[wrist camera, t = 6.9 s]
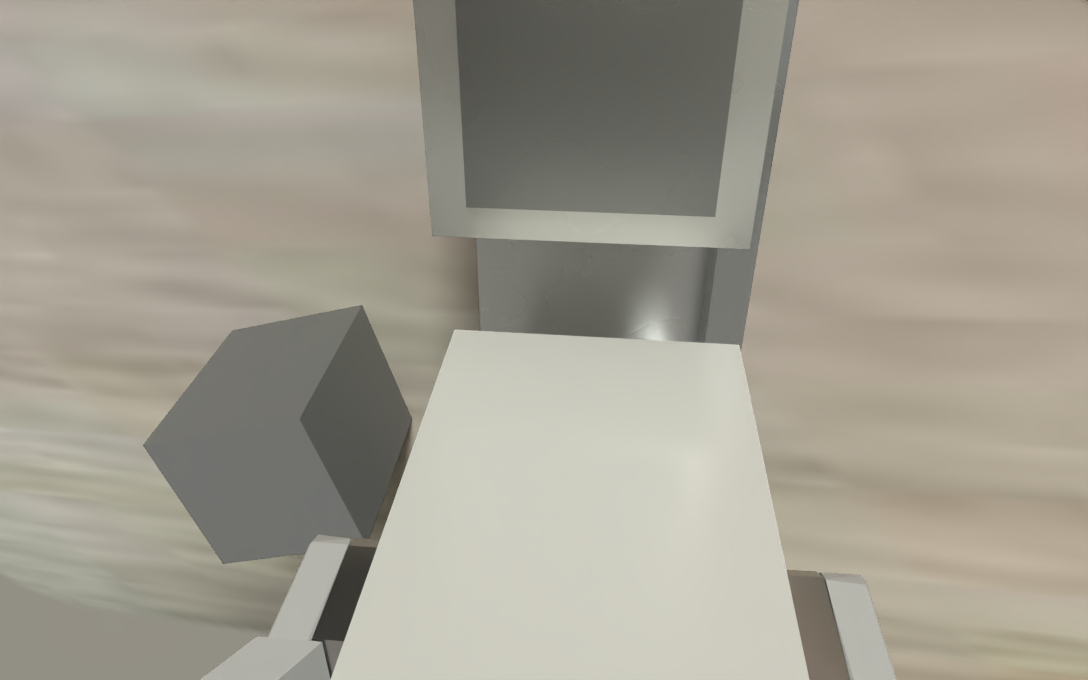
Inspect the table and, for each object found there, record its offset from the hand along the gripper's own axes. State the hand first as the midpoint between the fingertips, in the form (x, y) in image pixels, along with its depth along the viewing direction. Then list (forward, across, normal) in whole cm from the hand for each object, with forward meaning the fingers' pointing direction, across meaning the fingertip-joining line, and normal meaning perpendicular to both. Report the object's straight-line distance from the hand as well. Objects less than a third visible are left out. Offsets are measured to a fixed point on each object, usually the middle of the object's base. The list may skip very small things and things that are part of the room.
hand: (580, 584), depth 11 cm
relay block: (+11, +8, +5) cm, 14 cm away
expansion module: (+2, 0, 0) cm, 2 cm away
